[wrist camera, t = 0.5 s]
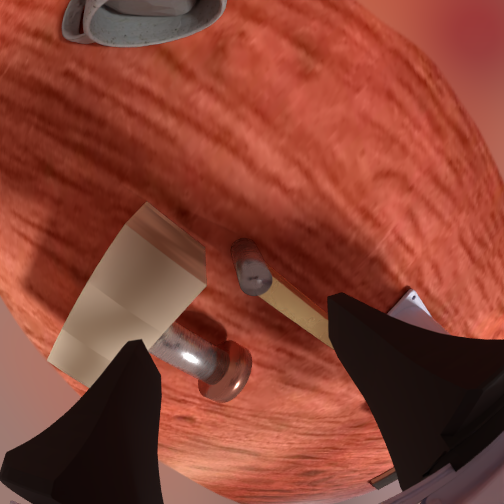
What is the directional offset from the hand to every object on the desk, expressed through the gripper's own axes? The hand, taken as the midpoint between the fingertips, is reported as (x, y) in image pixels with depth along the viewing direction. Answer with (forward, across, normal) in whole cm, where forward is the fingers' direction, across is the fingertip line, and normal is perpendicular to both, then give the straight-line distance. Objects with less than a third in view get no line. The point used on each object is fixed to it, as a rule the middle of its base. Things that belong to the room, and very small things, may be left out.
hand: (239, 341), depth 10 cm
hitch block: (+10, +7, +1) cm, 12 cm away
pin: (+9, +4, +5) cm, 11 cm away
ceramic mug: (+10, +2, -18) cm, 21 cm away
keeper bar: (+10, -4, +4) cm, 11 cm away
